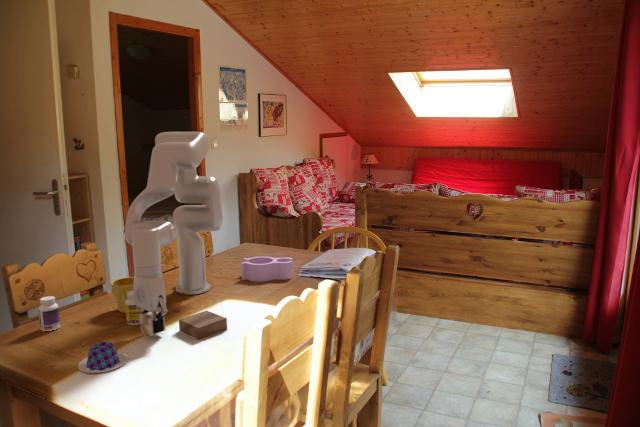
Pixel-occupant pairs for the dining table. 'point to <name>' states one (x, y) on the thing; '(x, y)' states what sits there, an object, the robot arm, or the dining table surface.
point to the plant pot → (122, 291)
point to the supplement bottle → (132, 310)
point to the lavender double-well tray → (266, 268)
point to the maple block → (148, 323)
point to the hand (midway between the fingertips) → (153, 328)
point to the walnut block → (202, 325)
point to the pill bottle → (49, 314)
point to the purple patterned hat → (102, 358)
